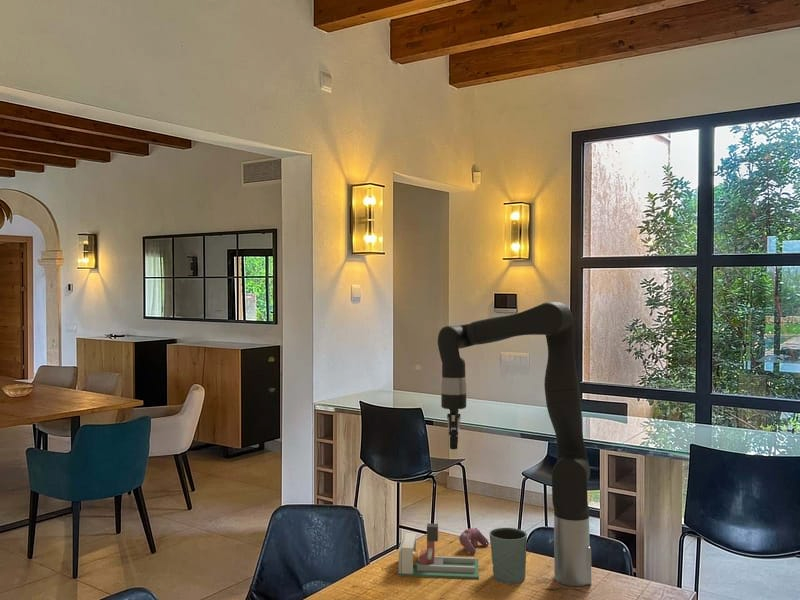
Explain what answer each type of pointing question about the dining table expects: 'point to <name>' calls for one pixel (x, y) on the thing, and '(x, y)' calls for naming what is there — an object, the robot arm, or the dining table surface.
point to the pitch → (447, 568)
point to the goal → (407, 553)
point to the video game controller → (472, 539)
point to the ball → (415, 558)
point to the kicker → (431, 547)
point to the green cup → (508, 555)
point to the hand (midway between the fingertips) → (454, 446)
